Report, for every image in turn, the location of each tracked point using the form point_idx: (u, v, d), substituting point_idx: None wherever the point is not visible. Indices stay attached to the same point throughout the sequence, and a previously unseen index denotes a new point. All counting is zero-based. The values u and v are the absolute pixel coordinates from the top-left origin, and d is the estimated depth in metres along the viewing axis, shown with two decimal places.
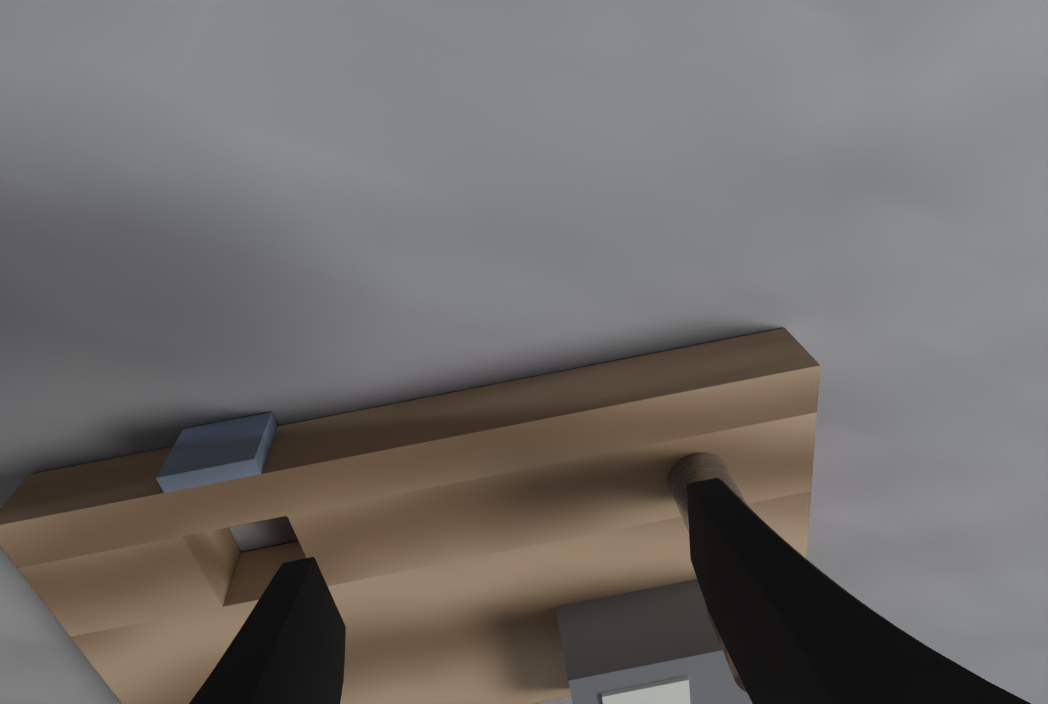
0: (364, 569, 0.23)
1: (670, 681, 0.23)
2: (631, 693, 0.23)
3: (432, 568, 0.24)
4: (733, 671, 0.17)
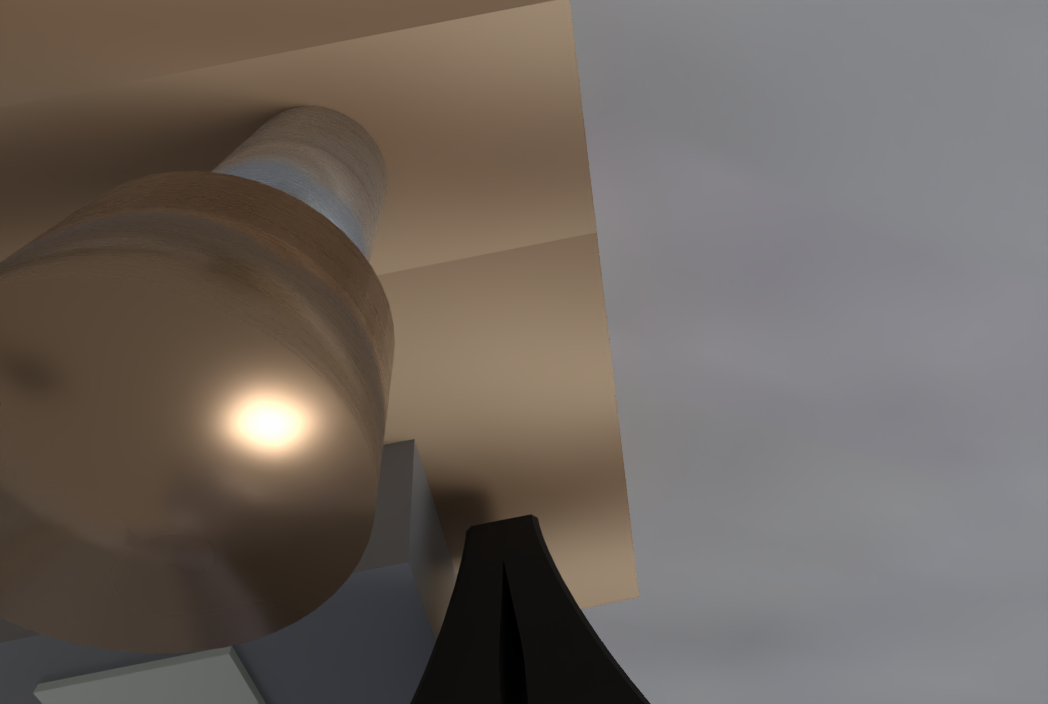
0: None
1: (190, 657, 0.10)
2: (107, 684, 0.10)
3: None
4: None
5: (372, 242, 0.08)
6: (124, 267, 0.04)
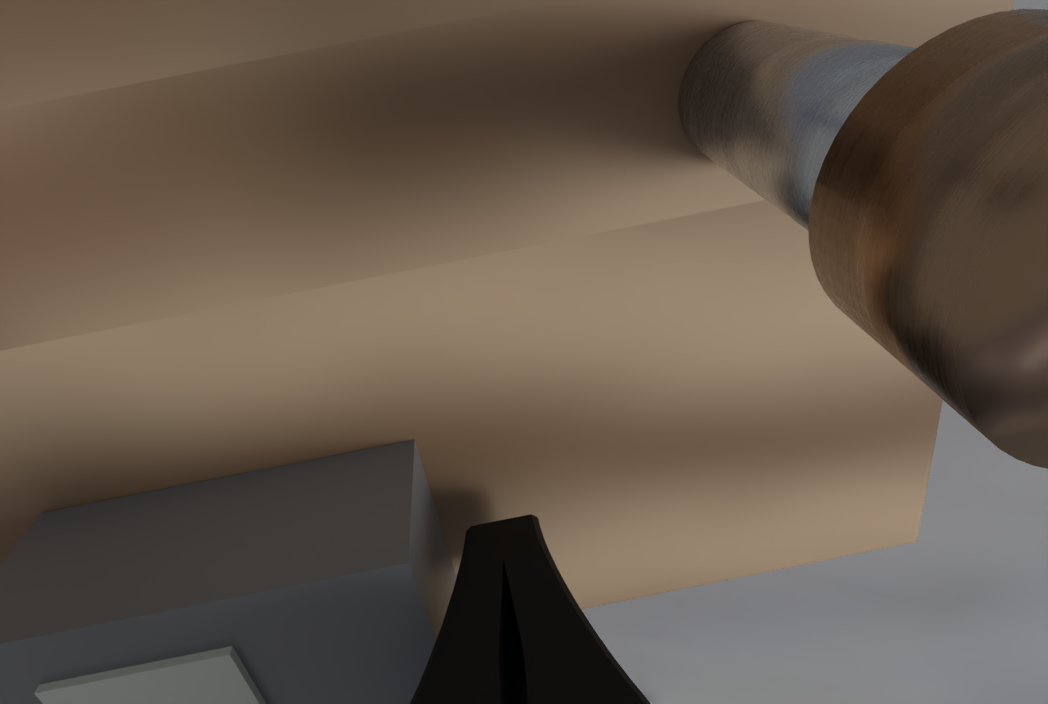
0: (19, 320, 0.11)
1: (191, 658, 0.10)
2: (107, 685, 0.10)
3: (172, 324, 0.11)
4: (965, 326, 0.04)
5: None
6: None
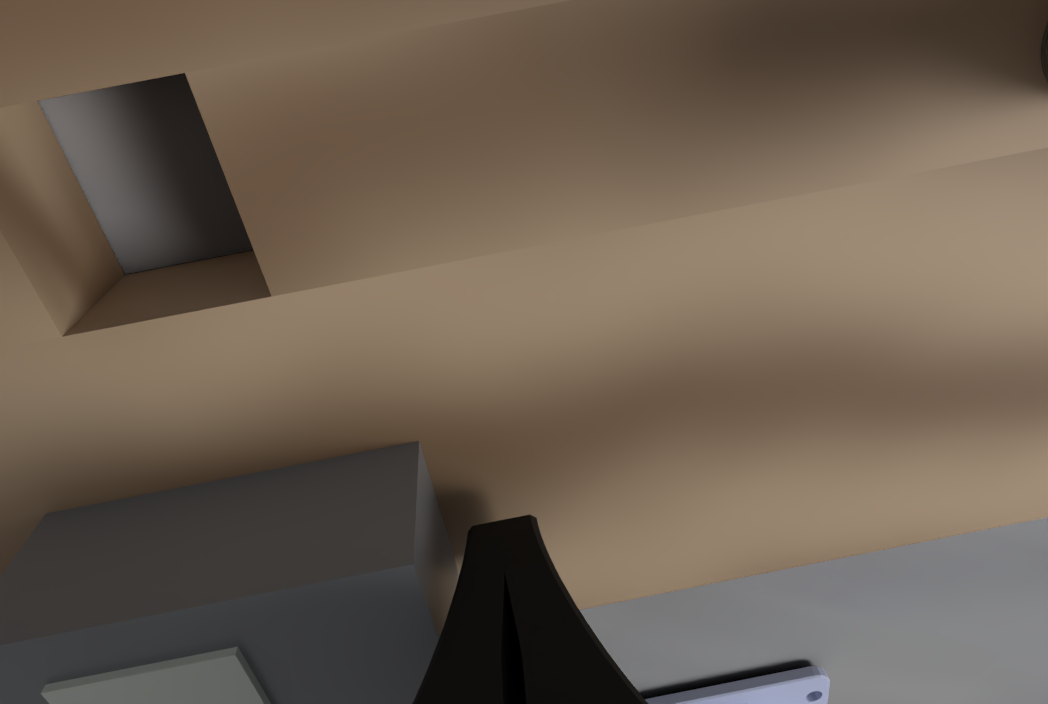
0: (367, 251, 0.11)
1: (197, 659, 0.10)
2: (113, 685, 0.10)
3: (511, 258, 0.11)
4: None
5: None
6: None
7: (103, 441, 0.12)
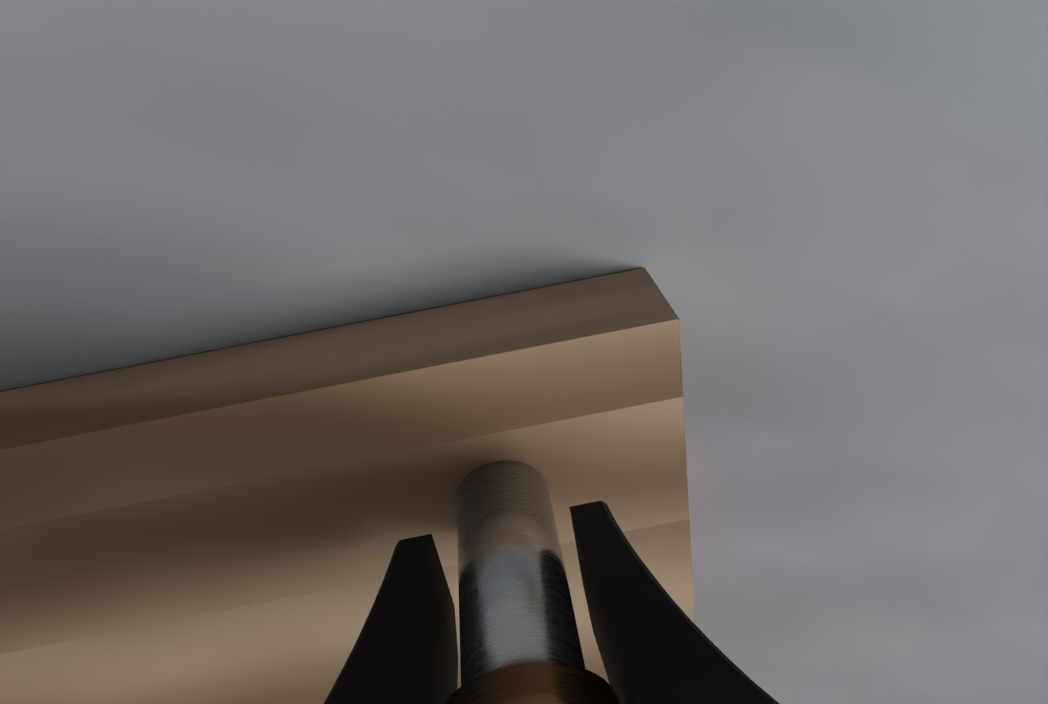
0: None
1: None
2: None
3: (108, 637, 0.15)
4: None
5: None
6: None
7: None
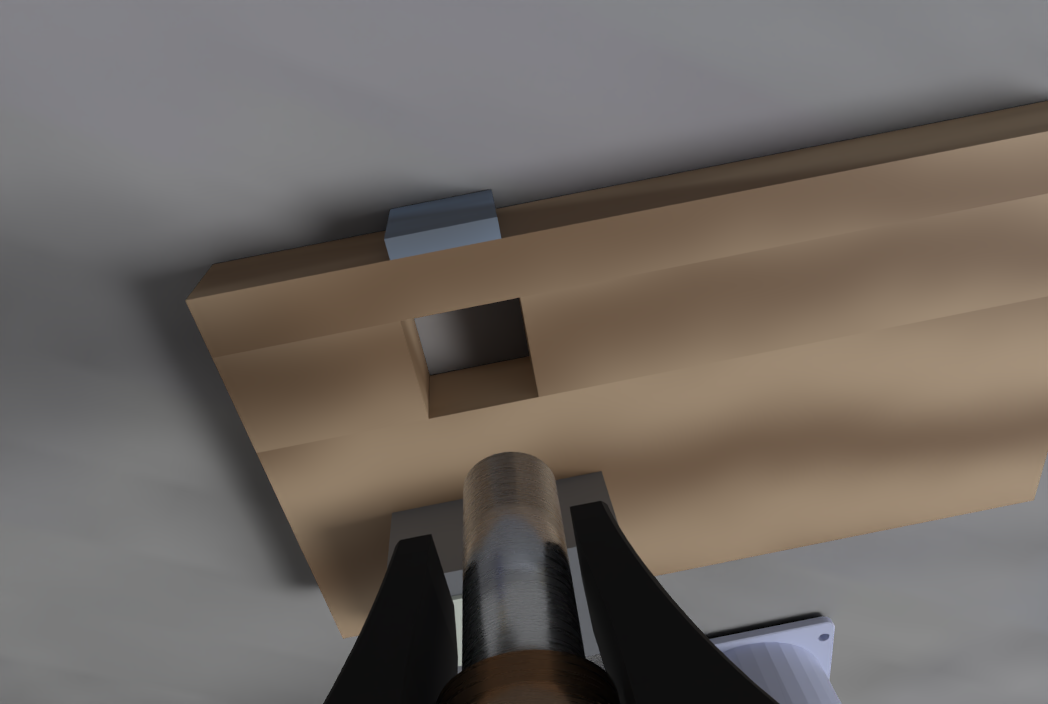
0: (591, 374, 0.20)
1: None
2: None
3: (664, 375, 0.21)
4: None
5: None
6: None
7: (434, 472, 0.22)
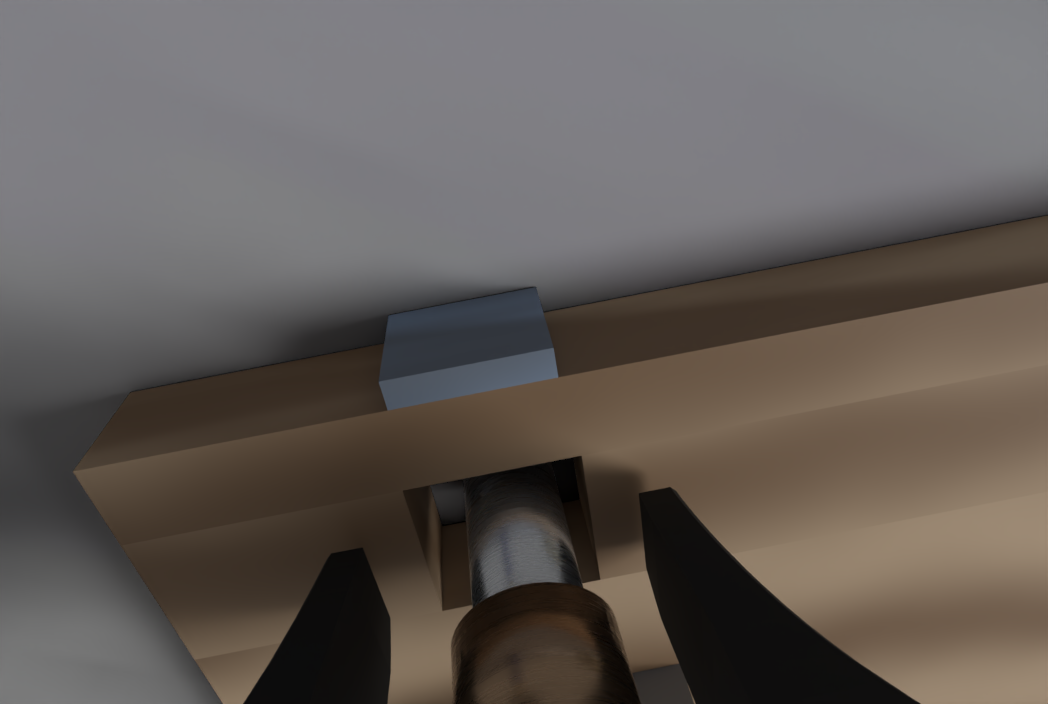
0: None
1: None
2: None
3: (780, 548, 0.14)
4: None
5: None
6: (573, 686, 0.09)
7: (448, 673, 0.15)
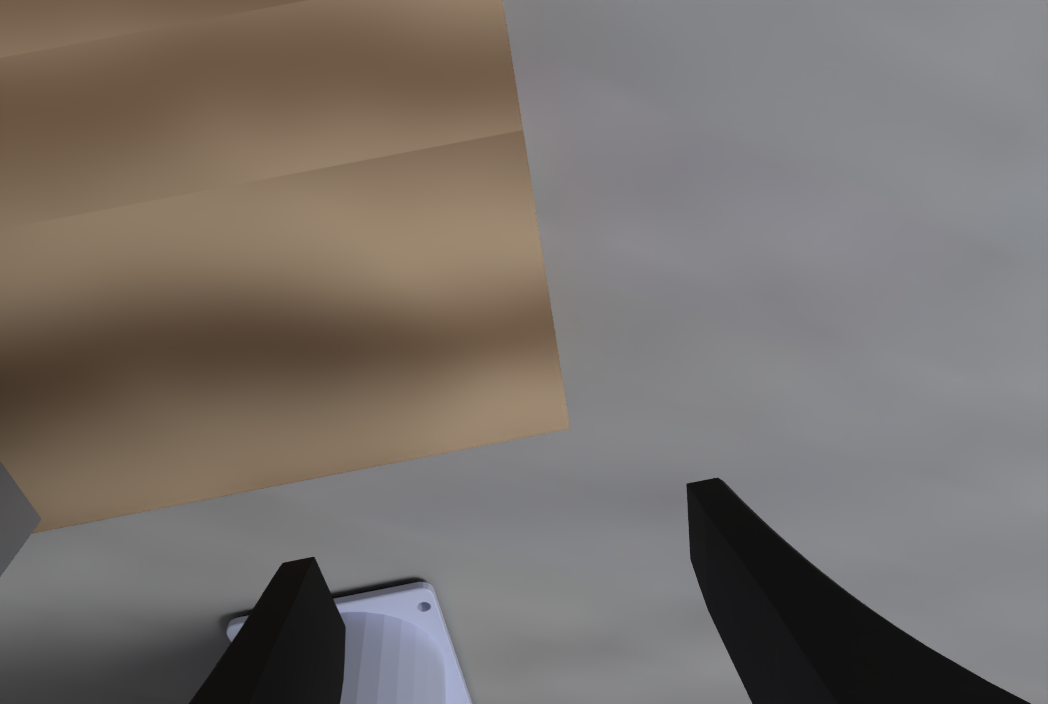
0: None
1: None
2: None
3: None
4: None
5: None
6: None
7: None
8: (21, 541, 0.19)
